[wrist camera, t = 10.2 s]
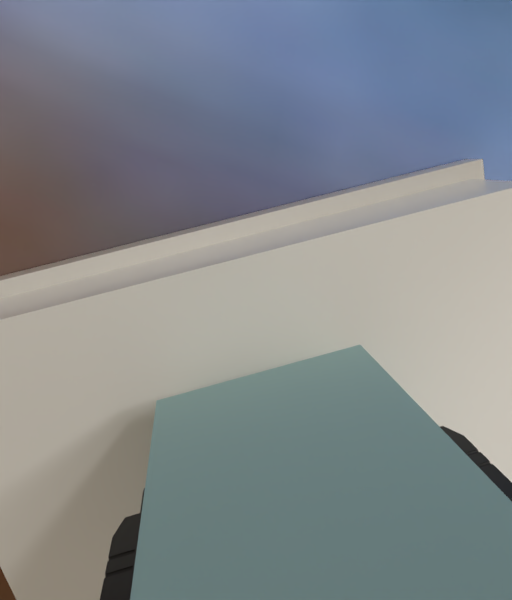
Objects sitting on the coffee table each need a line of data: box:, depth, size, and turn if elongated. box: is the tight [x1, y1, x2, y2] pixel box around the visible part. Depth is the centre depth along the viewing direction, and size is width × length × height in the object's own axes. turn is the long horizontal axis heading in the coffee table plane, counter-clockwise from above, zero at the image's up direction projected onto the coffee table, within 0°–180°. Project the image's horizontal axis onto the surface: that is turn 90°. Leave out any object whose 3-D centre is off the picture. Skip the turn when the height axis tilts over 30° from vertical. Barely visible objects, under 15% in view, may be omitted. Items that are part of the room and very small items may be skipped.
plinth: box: [0, 159, 512, 600], centre depth 15 cm, size 11×17×4 cm, turn 103°
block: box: [130, 345, 512, 600], centre depth 9 cm, size 5×5×7 cm
